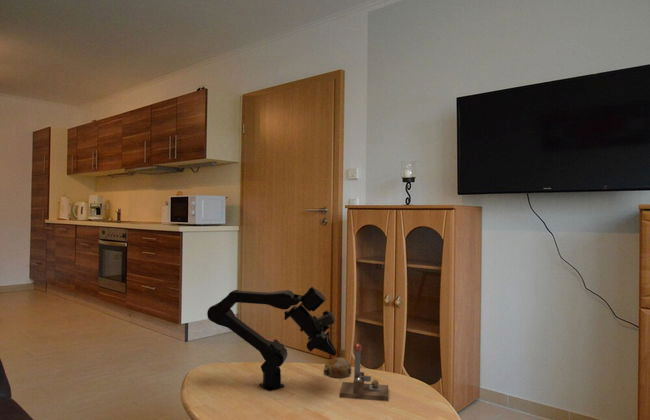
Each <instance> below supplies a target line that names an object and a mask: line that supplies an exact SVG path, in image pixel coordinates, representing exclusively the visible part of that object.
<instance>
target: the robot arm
mask: <svg viewBox="0 0 650 420" xmlns="http://www.w3.org/2000/svg"><path fill="white" fill-rule="evenodd" d="M326 301H327V300H326V297H325V296H324V295H323V293H322V292H321V291H319V290H318V289H316V288H315V287H314V286H311V287H310V288H308V290H307V291H306V292H305V293H304V294H303V295H302V294H297V293H294V292H293V291H291V290H289V289H286V290H279V291H278V290H276V291H274V292H273V291H271V292H265V291H264V292H263V291H249V290H248V291H247V290H239V289H234V290H232V291H230V292H229V293H228V294H227V295H226V296H225V297H224V298H222V300H221V301H218V302H217V303H216V304H214V305H211V306H209V308H208V309H207V311H206V312H207V313H206V316H207V319H208V320H209V321H210V322H212V323H214V324H216V325H219V326H222V327H224V328H227V329H229V330H230V331H232V332H233V333H234V334H236V335H237V336H238V337H239V338H241V339H242V340H243V341H245V342H246V343H247V344H249V345H250V346H252V347H253V348H255V350H257V351H258V352H259V353H260V356H262V358H263V359H264V362H263V363H262V364H261V365H260V369H261V372H262V382H260V383H259V384H258V386H259V387H261V388H264V389H265V390H267V391H269V392H270V391H273V390H276V389H281V388H284V387H285V385H284V384H283V383H282V374H281V372H282V369H281V366H282V365H283V364H284V363H285V361H286V360H287V357H288V350H287V348H285V344H282V342H280V341H279V340H278V339H276V338H274V339H273V341H270V340H267V339H266V338H265V337H264V336H262V335H260V334H259V333H258V332H257V331H256V330H254V329H253V328H251V327H250V326H249V325H247V324H246V323H245V322H243V321H242V320H241V319H240V318H238V317H237V316H236V315H235V313H234V311H233V310H232V308H233V306H235V305H236V303H238V304H239V303H240V304H241V303H242V304H253V305H254V304H255V305H267V306H271V307H272V308H276V309H279V310H285V311H284V319H283V320H284V321H287V319H289V318H291V320H293V321H294V323H295V324H296V325H297V326H298V327H299V328H300V329H299V331H300V332H301V333H302V332H304V333H305V335H306V336H307V340H308V341H307V343H306V349H307V350H308V351H309V352H313V350H318V351H321V352H323V353H327V354H328V355H330V356H333V357H335V356H337V353H338V352H337V349H336V347H335V345H334V344H333V342H332V341H331V339H330V334H331V333H330V332H331V331H330V328H331V325H333V324H335V322H336V319H335V317H334V313H332V311H329V310H325V311H323V312H322V315H320V316H319V317H317V316H316V315H312V314H311V313H310V312H311V311H312V312H315V311H317V309H318V308H320V307H321V306H322V305H323V304H324V303H325V302H326ZM300 302H301V303H300ZM299 303H300V304H299ZM298 304H299V305H298ZM297 305H298V306H297ZM288 309H289V310H288ZM328 329H329V331H327V330H328ZM326 331H327V332H326Z"/></svg>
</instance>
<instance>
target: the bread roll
mask: <svg viewBox="0 0 650 420" xmlns="http://www.w3.org/2000/svg"><path fill="white" fill-rule="evenodd" d="M351 372H352V366H351V363H350V362H349V361H348V360H347V359H346V358H344V357H341V356H340V357H338V356H337V357H333V358H330V359H329V360H328V361H327V362H326V363H325V365H324V369H323V373H324V374H325V376H327V377H331V378H333V379H334V378H335V379H339V378H340V379H345V378H349V377H351V374H352V373H351Z"/></svg>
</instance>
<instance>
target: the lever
mask: <svg viewBox="0 0 650 420" xmlns="http://www.w3.org/2000/svg"><path fill="white" fill-rule="evenodd" d="M362 350H363V347H362V345H361V344H360V343H359V342H358V343H355V344H354V345H353V351H354V375H353V379H354V380H359V381H364V382H366V383H367V382H369V383H370V382H371V383H372V381H371V380H372V376H371V375H364V376H362V374H360V372H361V351H362ZM354 380H353V381H354Z"/></svg>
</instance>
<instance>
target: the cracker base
mask: <svg viewBox="0 0 650 420" xmlns="http://www.w3.org/2000/svg"><path fill="white" fill-rule="evenodd" d="M360 374H362V376H365V372H364V371H360ZM339 398H344V399H345V398H346V399H358V400H359V399H360V400H371V401H381V402H382V401H384V402H388V401H389V384H379V381H378V379H373V380H372V381H371V383H367V382H366V383H365V381H359V380H353V382H349V381H342V383H341V387H340V389H339Z"/></svg>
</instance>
